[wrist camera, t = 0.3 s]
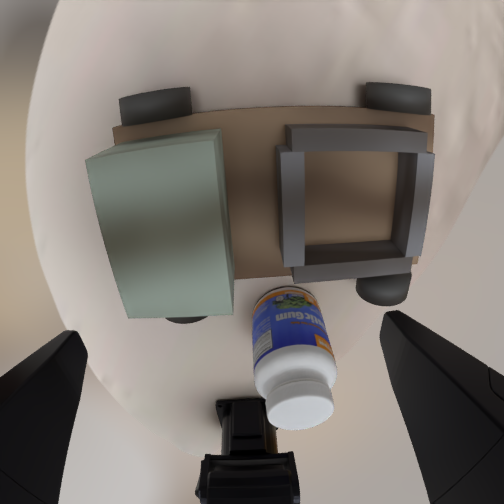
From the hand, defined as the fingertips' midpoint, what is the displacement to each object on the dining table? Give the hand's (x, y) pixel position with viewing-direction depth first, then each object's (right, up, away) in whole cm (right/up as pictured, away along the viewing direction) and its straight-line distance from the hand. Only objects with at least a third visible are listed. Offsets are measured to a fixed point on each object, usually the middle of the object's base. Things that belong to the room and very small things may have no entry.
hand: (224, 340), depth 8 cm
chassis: (+3, +6, +12) cm, 14 cm away
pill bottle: (+3, -2, +17) cm, 17 cm away
